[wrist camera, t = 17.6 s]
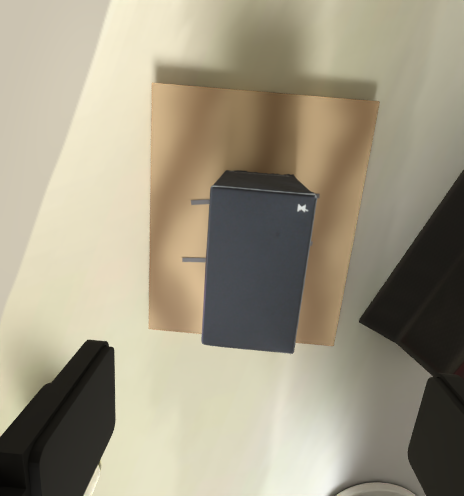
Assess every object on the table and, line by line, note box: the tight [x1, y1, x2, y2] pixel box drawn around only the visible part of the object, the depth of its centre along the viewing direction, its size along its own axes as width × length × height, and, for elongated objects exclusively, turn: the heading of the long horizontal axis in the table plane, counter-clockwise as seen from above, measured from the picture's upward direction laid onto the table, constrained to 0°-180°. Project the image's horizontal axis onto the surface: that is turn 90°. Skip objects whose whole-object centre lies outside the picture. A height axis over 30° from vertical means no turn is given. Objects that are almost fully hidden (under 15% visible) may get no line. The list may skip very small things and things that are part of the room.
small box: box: [202, 170, 317, 354], centre depth 26 cm, size 11×6×10 cm, turn 176°
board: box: [149, 83, 380, 346], centre depth 31 cm, size 18×22×2 cm
